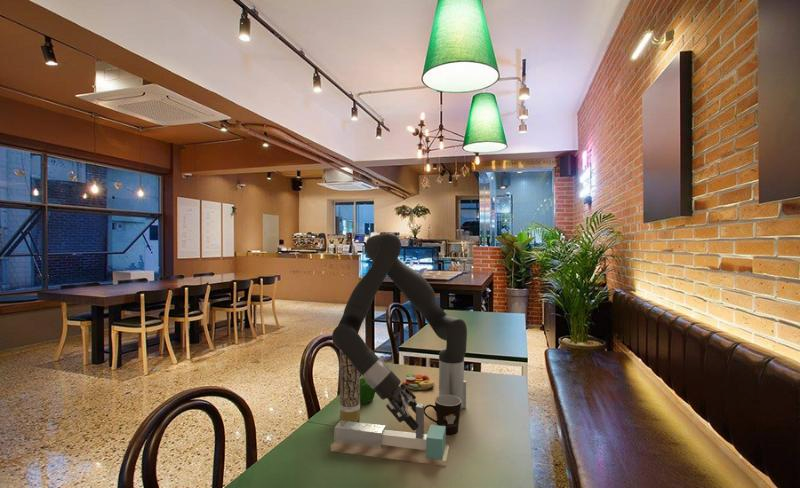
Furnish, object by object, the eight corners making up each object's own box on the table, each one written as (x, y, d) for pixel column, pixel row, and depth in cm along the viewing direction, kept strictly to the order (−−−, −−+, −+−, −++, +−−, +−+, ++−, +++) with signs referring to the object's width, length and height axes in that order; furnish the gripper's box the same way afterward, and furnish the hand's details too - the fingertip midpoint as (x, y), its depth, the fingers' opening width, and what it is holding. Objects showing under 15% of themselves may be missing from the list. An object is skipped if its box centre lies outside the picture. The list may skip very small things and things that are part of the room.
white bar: (372, 443, 115) (372, 403, 115) (375, 438, 118) (375, 398, 118) (436, 451, 111) (436, 409, 111) (437, 445, 114) (437, 404, 114)
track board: (330, 450, 116) (330, 445, 116) (340, 437, 124) (340, 432, 123) (445, 466, 108) (445, 460, 108) (449, 450, 116) (449, 445, 116)
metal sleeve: (334, 443, 117) (334, 427, 117) (340, 435, 122) (340, 420, 122) (381, 449, 114) (381, 433, 114) (385, 440, 118) (385, 425, 118)
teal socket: (426, 457, 109) (426, 437, 109) (430, 443, 117) (430, 424, 117) (442, 459, 108) (442, 439, 108) (445, 445, 116) (445, 426, 116)
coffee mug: (463, 426, 130) (463, 396, 130) (458, 439, 122) (458, 407, 122) (429, 421, 134) (429, 392, 134) (422, 433, 126) (422, 402, 126)
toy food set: (435, 392, 160) (435, 384, 160) (402, 391, 160) (402, 384, 160) (432, 380, 173) (432, 372, 173) (402, 380, 174) (402, 372, 174)
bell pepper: (364, 394, 157) (364, 369, 157) (380, 400, 152) (379, 374, 152) (349, 401, 150) (349, 375, 150) (364, 407, 145) (364, 380, 145)
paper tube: (356, 425, 131) (356, 351, 131) (337, 423, 133) (336, 349, 132) (362, 416, 138) (362, 345, 138) (344, 414, 139) (343, 344, 139)
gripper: (383, 379, 108) (424, 424, 106) (395, 362, 122) (432, 403, 120) (365, 396, 110) (405, 442, 107) (379, 378, 123) (415, 418, 121)
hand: (419, 421), depth 113 cm, fingers open, 8 cm apart
